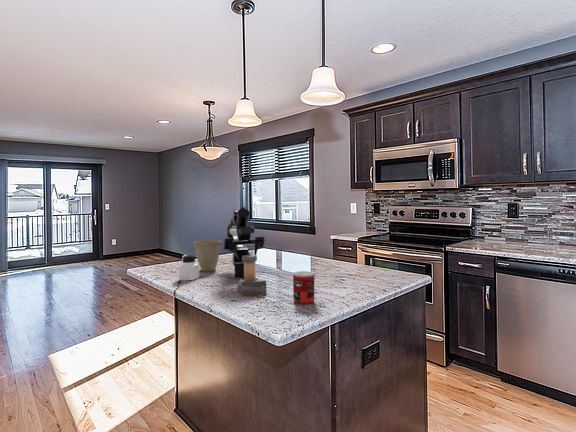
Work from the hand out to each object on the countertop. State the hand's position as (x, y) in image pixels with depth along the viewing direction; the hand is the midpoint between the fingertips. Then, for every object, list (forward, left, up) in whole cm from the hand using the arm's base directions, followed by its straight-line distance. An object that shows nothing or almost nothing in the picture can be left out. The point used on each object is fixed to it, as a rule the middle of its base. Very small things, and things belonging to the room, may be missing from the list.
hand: (246, 257), depth 164 cm
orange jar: (+3, -8, -11) cm, 14 cm away
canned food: (+27, -27, -13) cm, 40 cm away
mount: (+4, -11, -12) cm, 17 cm away
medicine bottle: (-31, +10, -13) cm, 35 cm away
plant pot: (-28, +32, -13) cm, 45 cm away
